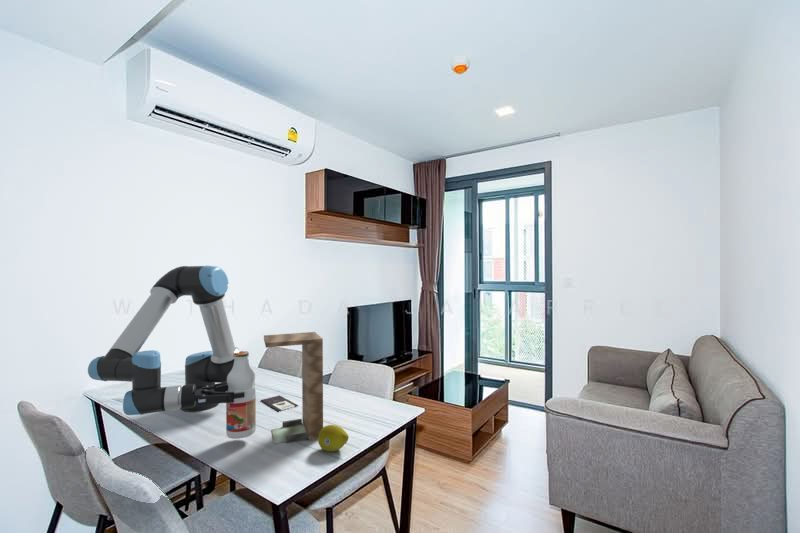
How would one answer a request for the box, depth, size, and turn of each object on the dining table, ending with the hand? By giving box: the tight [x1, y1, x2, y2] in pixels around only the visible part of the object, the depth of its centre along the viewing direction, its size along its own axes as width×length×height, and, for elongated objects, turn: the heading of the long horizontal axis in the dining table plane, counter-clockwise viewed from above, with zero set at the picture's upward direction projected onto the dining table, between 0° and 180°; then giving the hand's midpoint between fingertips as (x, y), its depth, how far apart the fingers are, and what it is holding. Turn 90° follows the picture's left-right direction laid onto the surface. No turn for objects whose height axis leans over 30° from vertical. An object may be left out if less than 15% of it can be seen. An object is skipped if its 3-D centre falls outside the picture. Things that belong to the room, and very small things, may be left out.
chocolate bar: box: [260, 394, 299, 413], centre depth 166 cm, size 9×1×18 cm
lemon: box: [317, 424, 349, 453], centre depth 123 cm, size 11×8×8 cm
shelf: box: [263, 331, 324, 444], centre depth 136 cm, size 19×16×35 cm
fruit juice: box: [225, 350, 257, 440], centre depth 130 cm, size 9×9×28 cm
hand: (254, 388), depth 131 cm, fingers closed on fruit juice, 9 cm apart
